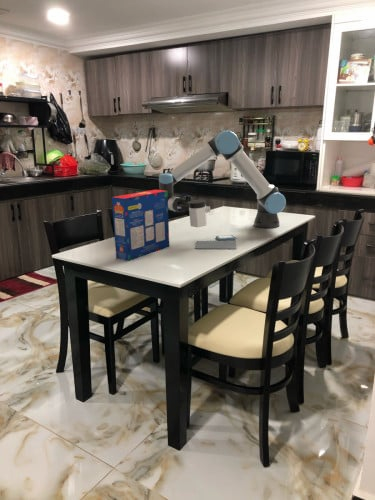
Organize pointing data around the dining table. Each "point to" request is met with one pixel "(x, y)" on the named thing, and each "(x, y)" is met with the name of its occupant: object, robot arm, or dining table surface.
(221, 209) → the dining table surface
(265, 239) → the dining table surface
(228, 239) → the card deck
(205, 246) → the mat
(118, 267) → the dining table surface
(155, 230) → the blue cardboard box
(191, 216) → the jar
